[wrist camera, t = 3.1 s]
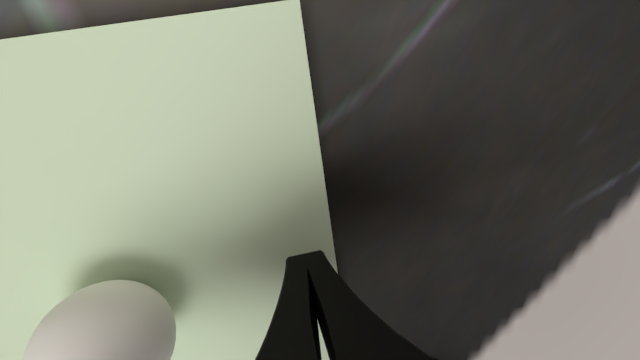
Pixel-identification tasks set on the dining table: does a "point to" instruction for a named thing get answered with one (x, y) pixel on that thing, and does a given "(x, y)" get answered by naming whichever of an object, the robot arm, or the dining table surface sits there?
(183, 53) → the putting deck
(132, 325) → the ball
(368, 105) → the dining table surface
